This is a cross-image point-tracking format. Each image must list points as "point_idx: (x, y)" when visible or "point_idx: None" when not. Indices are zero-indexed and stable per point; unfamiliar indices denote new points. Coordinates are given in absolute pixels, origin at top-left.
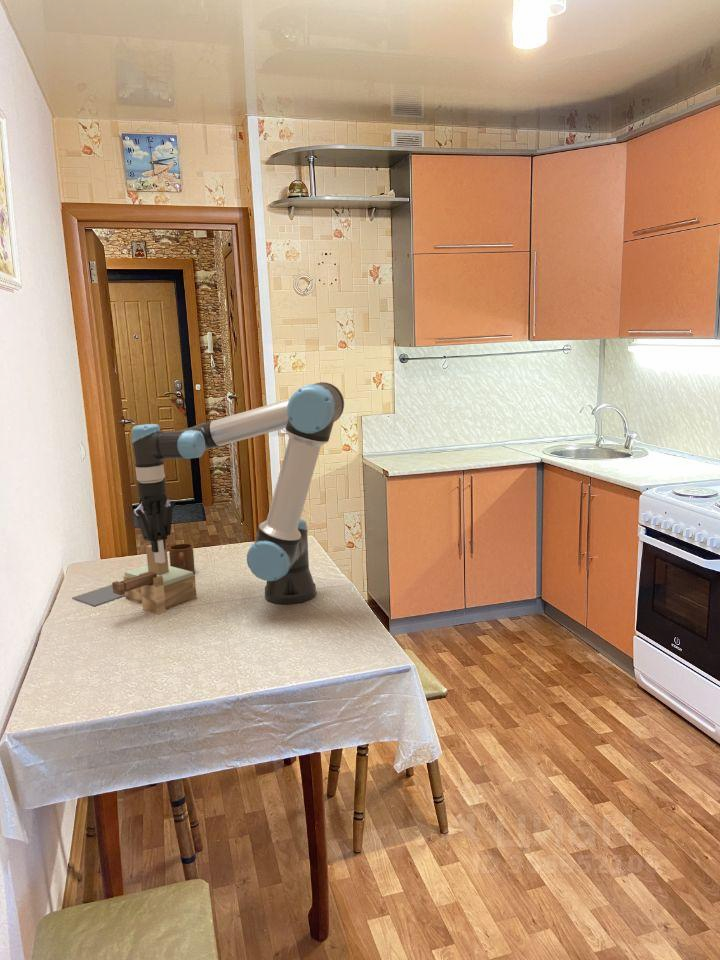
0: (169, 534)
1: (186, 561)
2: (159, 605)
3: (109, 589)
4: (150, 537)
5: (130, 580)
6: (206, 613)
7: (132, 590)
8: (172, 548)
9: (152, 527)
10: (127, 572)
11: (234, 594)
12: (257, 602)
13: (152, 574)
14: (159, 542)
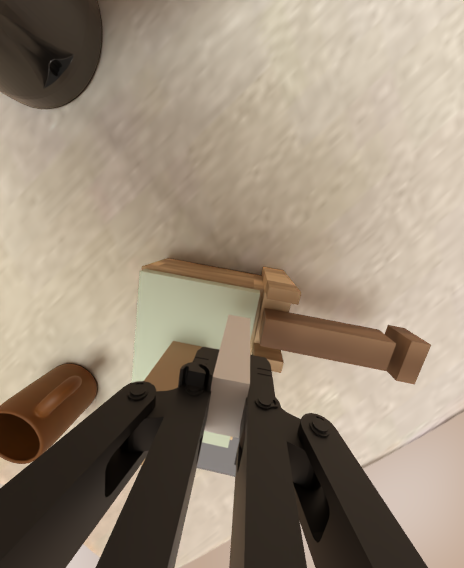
0: (139, 384)
1: (51, 388)
2: (280, 273)
3: (215, 453)
4: (324, 439)
5: (367, 346)
6: (233, 165)
7: None
8: (28, 455)
9: (298, 547)
10: (226, 439)
11: (107, 188)
12: (118, 86)
13: (282, 321)
14: (245, 375)
